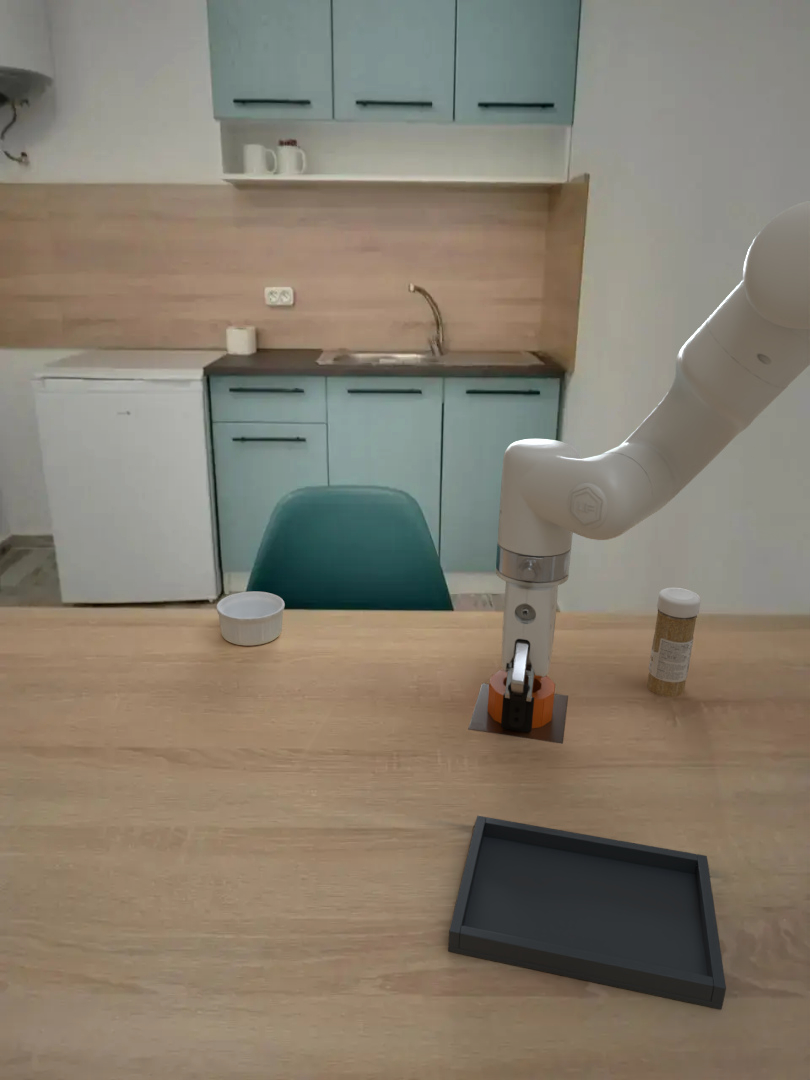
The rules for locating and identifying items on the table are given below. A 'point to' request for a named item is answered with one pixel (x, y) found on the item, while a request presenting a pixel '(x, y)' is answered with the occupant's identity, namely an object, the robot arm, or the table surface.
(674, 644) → the sprinkles bottle
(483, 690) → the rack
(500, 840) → the tray
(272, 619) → the ramekin
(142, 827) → the table surface
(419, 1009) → the table surface
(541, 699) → the orange octagonal ring
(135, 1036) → the table surface
